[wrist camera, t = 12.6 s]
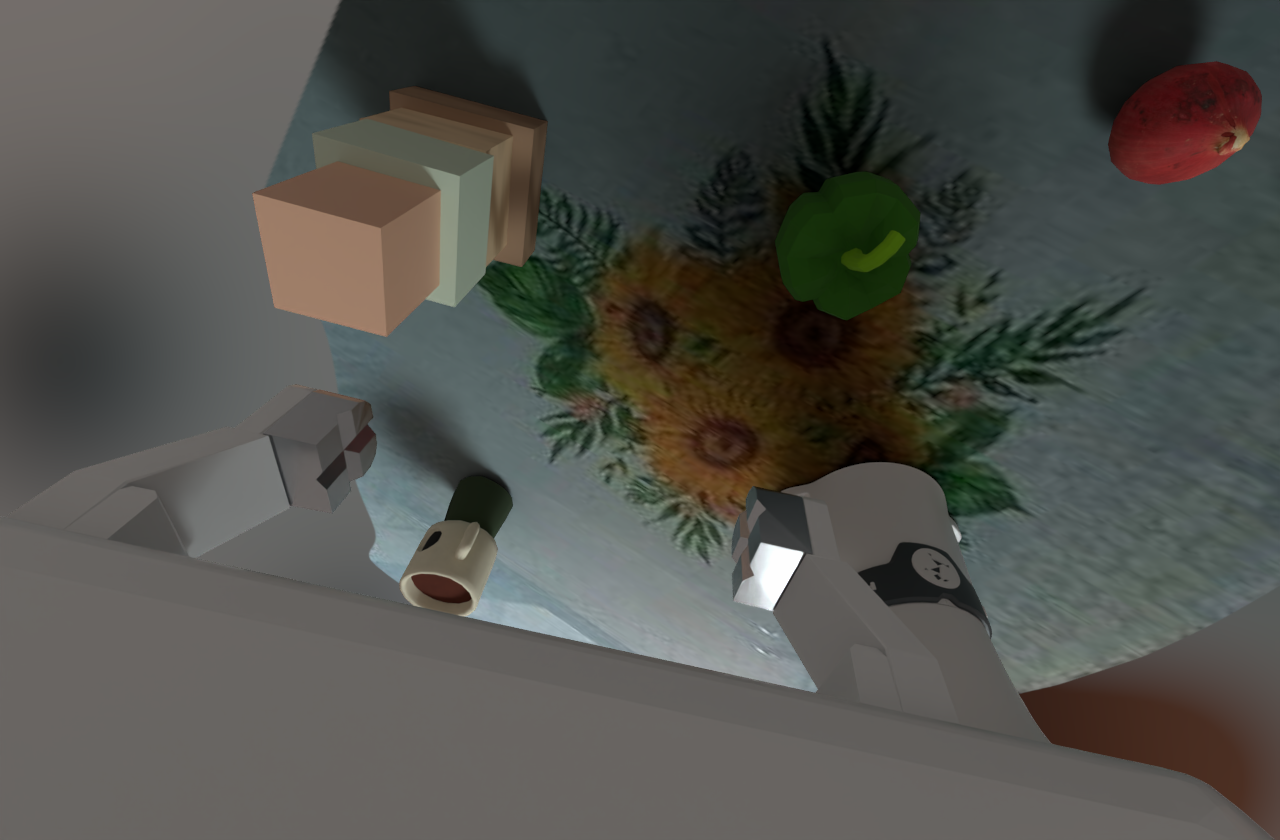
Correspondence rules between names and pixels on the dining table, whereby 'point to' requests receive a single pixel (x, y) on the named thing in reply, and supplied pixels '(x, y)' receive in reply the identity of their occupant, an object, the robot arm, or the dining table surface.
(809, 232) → the bell pepper
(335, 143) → the sage cube
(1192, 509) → the dining table surface
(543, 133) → the walnut slab
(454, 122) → the oak cube
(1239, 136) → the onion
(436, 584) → the character mug
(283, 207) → the terracotta block
